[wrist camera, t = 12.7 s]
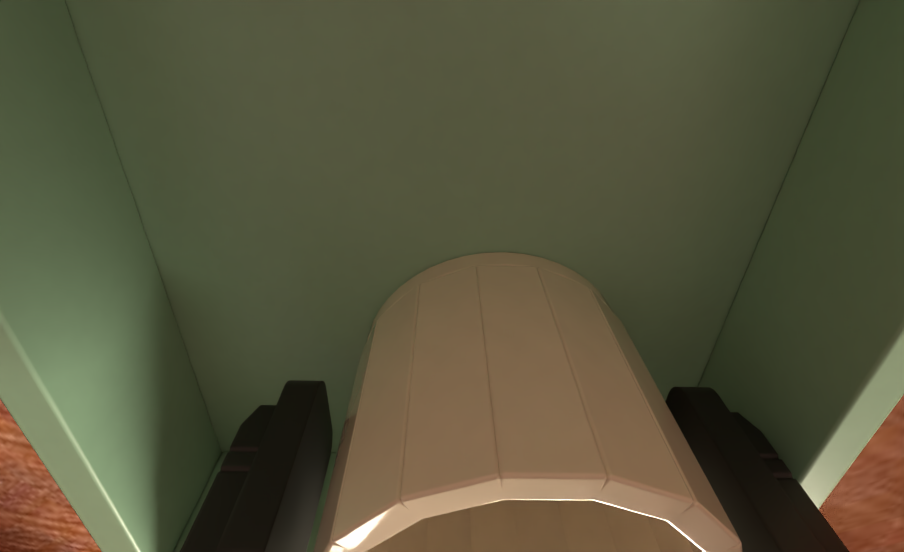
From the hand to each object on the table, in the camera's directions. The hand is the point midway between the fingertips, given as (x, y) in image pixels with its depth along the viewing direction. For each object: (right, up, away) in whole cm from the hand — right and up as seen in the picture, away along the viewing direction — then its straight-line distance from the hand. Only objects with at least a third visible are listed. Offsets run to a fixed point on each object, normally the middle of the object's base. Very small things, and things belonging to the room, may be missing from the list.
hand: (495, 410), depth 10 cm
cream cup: (0, +1, +1) cm, 2 cm away
